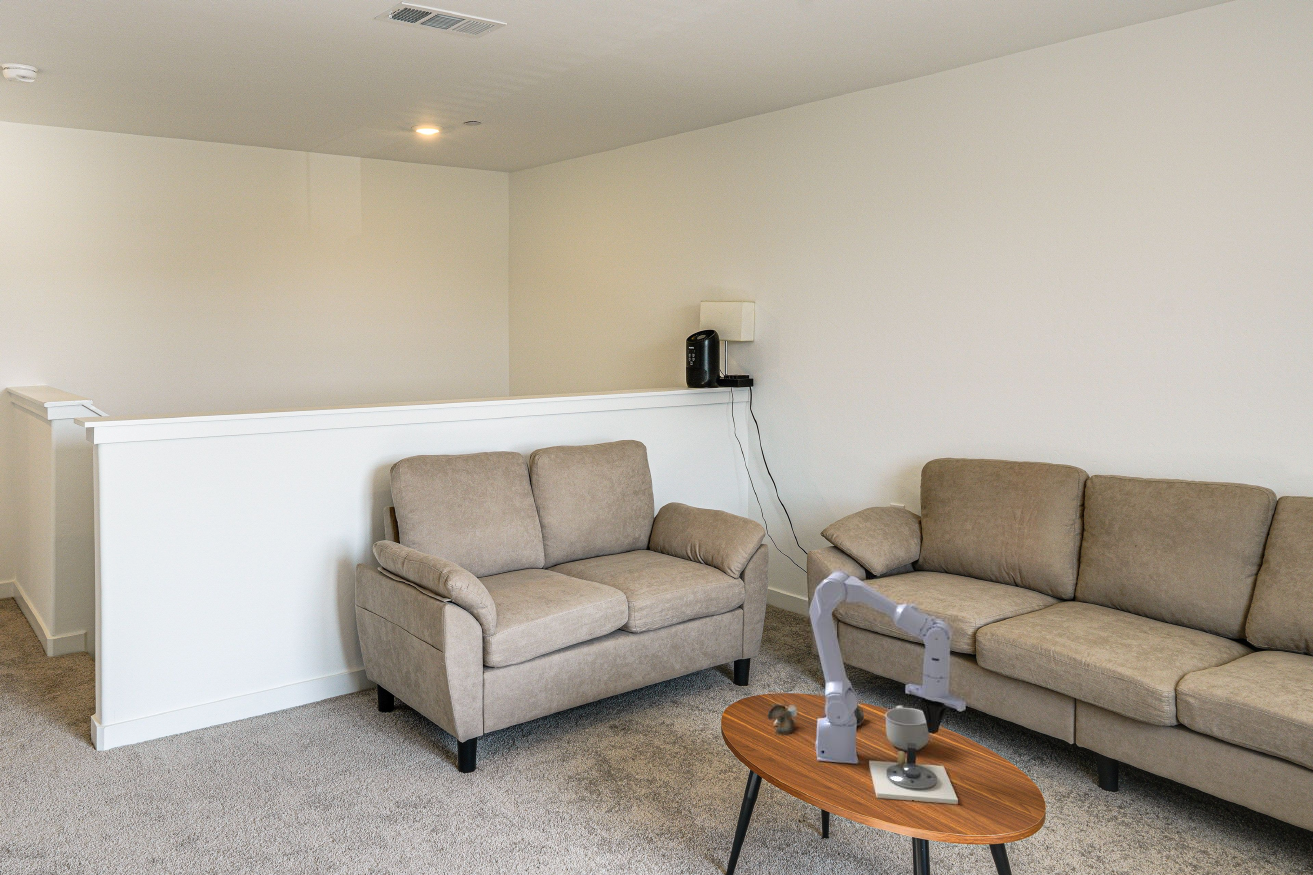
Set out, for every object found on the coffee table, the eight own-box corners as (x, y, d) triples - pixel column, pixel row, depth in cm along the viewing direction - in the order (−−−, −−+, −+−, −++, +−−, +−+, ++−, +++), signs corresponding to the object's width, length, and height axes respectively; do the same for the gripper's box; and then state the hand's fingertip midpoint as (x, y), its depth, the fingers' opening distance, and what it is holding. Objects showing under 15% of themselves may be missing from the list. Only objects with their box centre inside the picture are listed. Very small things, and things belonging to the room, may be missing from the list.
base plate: (876, 797, 199) (877, 779, 199) (868, 764, 216) (869, 747, 216) (957, 804, 197) (958, 786, 197) (943, 770, 214) (944, 753, 214)
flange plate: (938, 791, 200) (938, 772, 199) (886, 784, 203) (886, 766, 202) (935, 763, 214) (936, 745, 214) (886, 757, 217) (887, 739, 217)
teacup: (931, 756, 221) (933, 724, 221) (885, 752, 223) (887, 720, 223) (925, 734, 235) (926, 704, 234) (881, 730, 237) (883, 700, 236)
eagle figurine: (763, 715, 243) (760, 721, 234) (779, 693, 242) (776, 699, 234) (787, 734, 241) (784, 741, 232) (803, 712, 240) (801, 718, 232)
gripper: (974, 679, 207) (971, 737, 208) (918, 662, 218) (915, 718, 219) (957, 685, 203) (954, 745, 204) (901, 668, 214) (898, 725, 215)
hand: (933, 731), depth 211 cm, fingers closed
